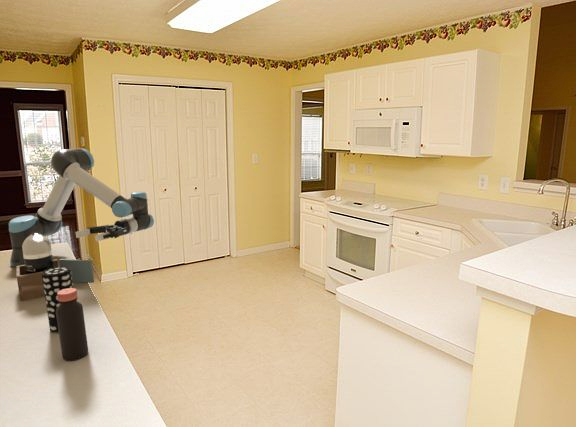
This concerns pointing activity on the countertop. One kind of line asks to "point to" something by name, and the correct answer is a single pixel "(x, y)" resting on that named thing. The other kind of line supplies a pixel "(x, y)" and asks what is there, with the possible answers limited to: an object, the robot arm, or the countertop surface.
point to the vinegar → (71, 325)
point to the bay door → (79, 269)
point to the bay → (30, 283)
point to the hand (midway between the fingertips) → (85, 236)
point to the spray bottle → (37, 253)
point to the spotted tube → (55, 291)
